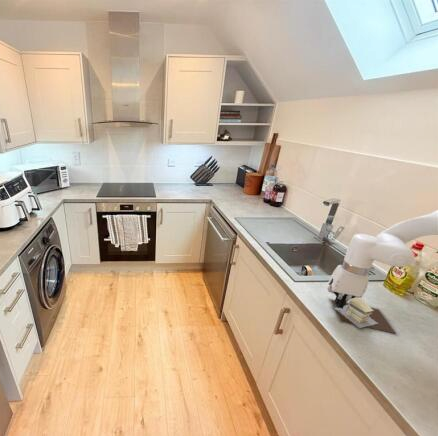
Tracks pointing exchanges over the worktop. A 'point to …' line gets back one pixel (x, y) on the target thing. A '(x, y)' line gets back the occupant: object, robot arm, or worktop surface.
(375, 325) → the spill
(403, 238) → the robot arm
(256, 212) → the worktop surface
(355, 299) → the stacked layers on plate
